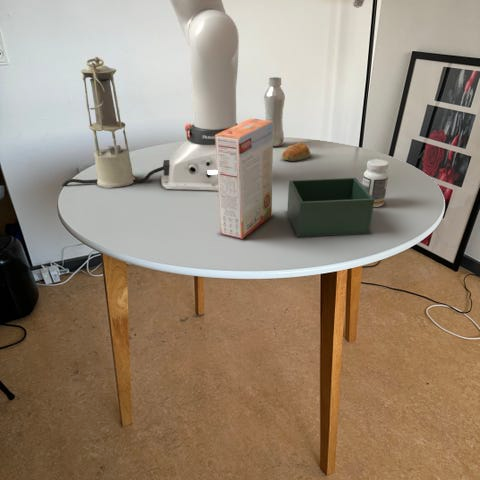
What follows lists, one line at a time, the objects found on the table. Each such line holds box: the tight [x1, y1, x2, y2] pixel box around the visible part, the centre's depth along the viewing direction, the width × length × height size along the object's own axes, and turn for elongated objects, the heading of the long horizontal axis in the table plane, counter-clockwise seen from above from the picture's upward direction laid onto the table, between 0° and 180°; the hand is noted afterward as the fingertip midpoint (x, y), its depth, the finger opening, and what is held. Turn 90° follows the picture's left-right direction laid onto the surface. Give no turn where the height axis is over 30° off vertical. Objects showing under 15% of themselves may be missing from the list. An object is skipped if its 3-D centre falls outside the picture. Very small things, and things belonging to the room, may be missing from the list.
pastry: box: [281, 142, 311, 162], centre depth 140 cm, size 9×7×4 cm
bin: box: [286, 177, 374, 238], centre depth 101 cm, size 15×13×8 cm
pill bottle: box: [361, 158, 389, 208], centre depth 108 cm, size 6×6×10 cm
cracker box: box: [215, 118, 274, 240], centre depth 96 cm, size 14×6×21 cm, turn 150°
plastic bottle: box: [263, 76, 286, 147], centre depth 146 cm, size 6×7×20 cm
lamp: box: [80, 56, 136, 189], centre depth 116 cm, size 10×13×30 cm
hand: (368, 1), depth 102 cm, fingers open, 8 cm apart
